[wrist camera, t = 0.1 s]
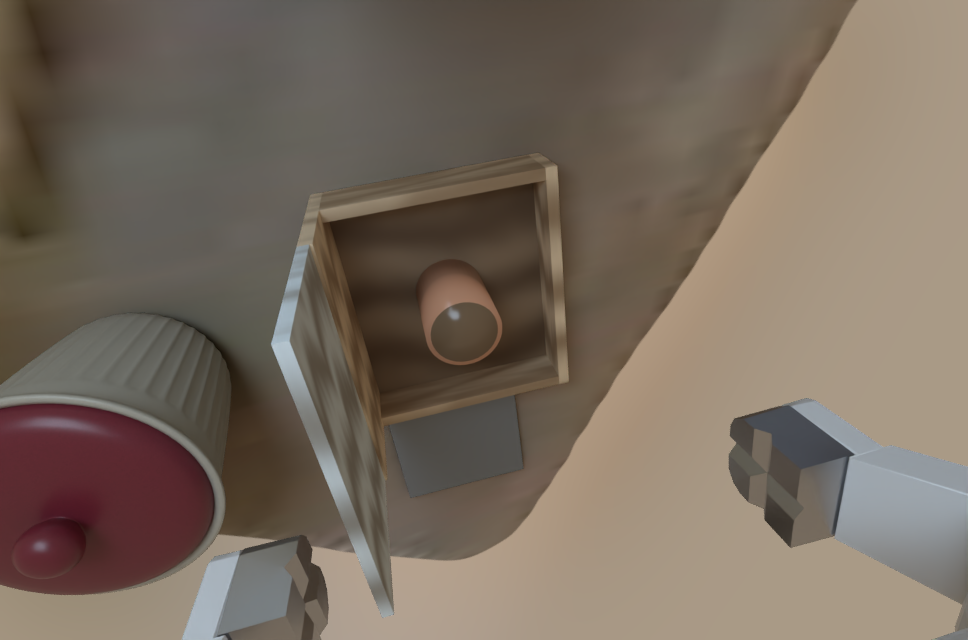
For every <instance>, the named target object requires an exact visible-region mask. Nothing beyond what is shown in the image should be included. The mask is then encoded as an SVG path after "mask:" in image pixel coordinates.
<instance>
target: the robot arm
mask: <svg viewBox="0 0 968 640" xmlns="http://www.w3.org/2000/svg"><path fill="white" fill-rule="evenodd" d="M730 436H731V438H732V439H733V440H734V441H735V442H736V445H735V446H734V448H733V449H732V451H731V452H730V453H729V470H730V474H731V476H732V480H733V482H734V484H735V486H736V487H737V489H738V491H739V492H740V493H741V494H742V496H743V497H744V498H745V499H746V500H747V501H748V502H749V503H751V504H754V505H756V506H758V507H761V508H763V509H764V519H765V521H766V522H767V523H768V524H769V525H770V526H771V527H772V529H773V530H774V531H775V532H776V533H777V534H778V535H779V536H780V537H781V538H782V539H783V540H784V541H785V543H786V544H787V545H788V546H789V547H791V548H792V547H795V546H799V545H803V544H807V543H810V542H814V541H818V540H821V539H825V538H829V537H833V536H835V539H836V540H838V541H840V542H842V543H844V544H846V545H848V546H850V547H852V548H854V549H856V550H858V551H860V552H861V553H863V554H865V555H867V556H869V557H871V558H873V559H875V560H877V561H879V562H881V563H883V564H885V565H887V566H889V567H890V568H893V569H894V570H896V571H898V572H900V573H902V574H904V575H906V576H908V577H910V578H912V579H914V580H916V581H918V582H920V583H922V584H923V585H925V586H927V587H929V588H931V589H933V590H935V591H937V592H939V593H941V594H943V595H945V596H947V597H949V598H950V599H952V600H954V601H956V602H958V603H960V604H962V608H961V611H960V614H959V617H958V619H957V622H956V625H955V632H953V633H950V634H947V635H944V636H941V637H939V638H936V639H933V640H968V467H966V466H963V465H959V464H956V463H952V462H949V461H945V460H941V459H938V458H934V457H931V456H927V455H923V454H920V453H917V452H913V451H909V450H906V449H902V448H899V447H895V446H892V445H891V446H887V447H882V446H881V445H879V444H878V443H876V442H875V441H873V440H872V439H871V438H869V437H867V436H866V435H865V434H863V433H862V432H860V431H859V430H858V429H856V428H855V427H853V426H852V425H850V424H849V423H847V422H846V421H845V420H843V419H842V418H840V417H839V416H837V415H836V414H834V413H833V412H832V411H830V410H829V409H827V408H826V407H824V406H823V405H821V404H820V403H819V402H817V401H815V400H812V399H809V398H805V399H801V400H798V401H795V402H791V403H788V404H784V405H782V406H778V407H774V408H771V409H767V410H764V411H760V412H756V413H753V414H749V415H745V416H742V417H738V418H735V419H734V420H733V422H732V424H731V429H730ZM311 557H312V548H311V545H310V543H309V541H308V539H307V537H306V536H304V535H299V536H295V537H291V538H286V539H282V540H278V541H274V542H270V543H266V544H262V545H258V546H254V547H249V548H245V549H244V550H240V551H236V552H232V553H228V554H223V555H219V556H215V557H214V558H213V559H212V560H211V561H210V562H209V564H208V565H207V569H206V571H205V574H204V577H203V580H202V582H201V586H200V588H199V592H198V594H197V597H196V600H195V603H194V606H193V608H192V611H191V614H190V617H189V620H188V623H187V626H186V629H185V632H184V634H183V637H182V640H321V638H320V634H321V632H322V631H323V630H324V628H325V627H326V625H327V624H328V608H329V607H328V596H327V588H326V584H325V580H324V576H323V574H322V571H321V569H320V567H318V566H316V565H314V564H313V563H311Z"/></svg>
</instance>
